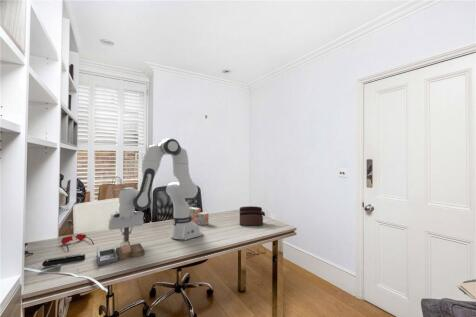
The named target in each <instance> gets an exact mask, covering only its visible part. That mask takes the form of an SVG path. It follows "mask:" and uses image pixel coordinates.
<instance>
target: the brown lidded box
mask: <svg viewBox="0 0 476 317" xmlns="http://www.w3.org/2000/svg"><path fill="white" fill-rule="evenodd" d="M239 225H240V226H263V225H264V216H263V208H262V207H260V206H255V205H254V206H250V205H249V206H240V207H239Z"/></svg>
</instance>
